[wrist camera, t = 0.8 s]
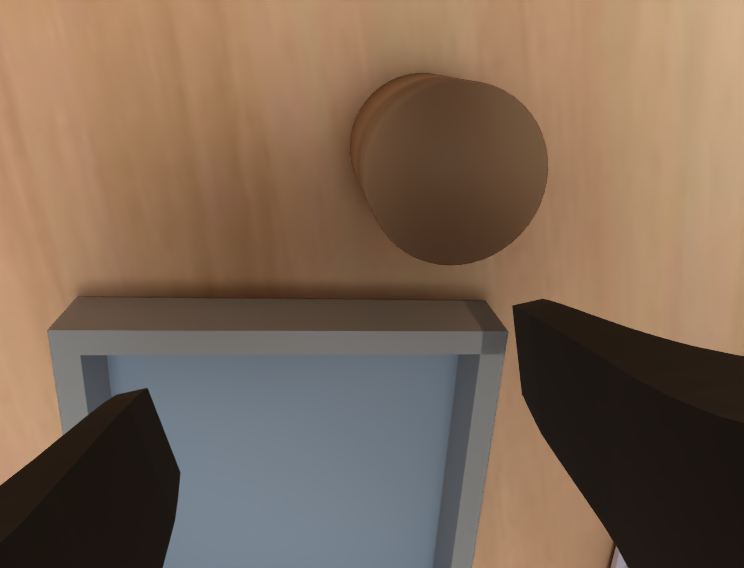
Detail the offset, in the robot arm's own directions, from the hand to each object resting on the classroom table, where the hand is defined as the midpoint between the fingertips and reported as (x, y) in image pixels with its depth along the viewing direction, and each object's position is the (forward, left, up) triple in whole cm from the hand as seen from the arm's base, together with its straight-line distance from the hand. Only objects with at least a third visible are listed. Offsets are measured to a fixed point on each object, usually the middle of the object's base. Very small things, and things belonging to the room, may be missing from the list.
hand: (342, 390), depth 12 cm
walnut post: (-3, -3, -9) cm, 10 cm away
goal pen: (+1, +9, -9) cm, 12 cm away
